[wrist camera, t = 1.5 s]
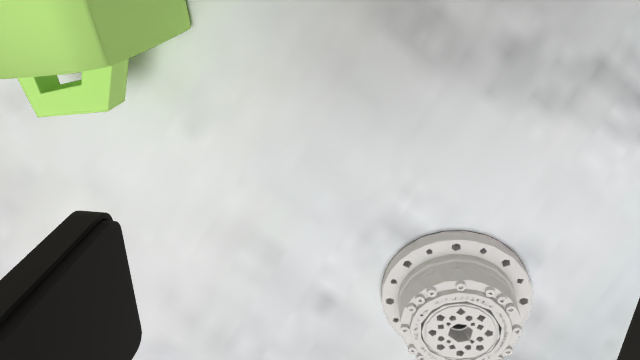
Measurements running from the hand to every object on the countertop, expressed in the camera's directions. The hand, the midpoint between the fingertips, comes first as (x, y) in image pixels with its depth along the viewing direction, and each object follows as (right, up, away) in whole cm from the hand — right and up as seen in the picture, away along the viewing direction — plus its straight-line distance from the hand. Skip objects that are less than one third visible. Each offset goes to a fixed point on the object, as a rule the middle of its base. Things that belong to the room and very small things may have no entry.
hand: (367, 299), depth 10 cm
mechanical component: (+9, -5, +28) cm, 29 cm away
